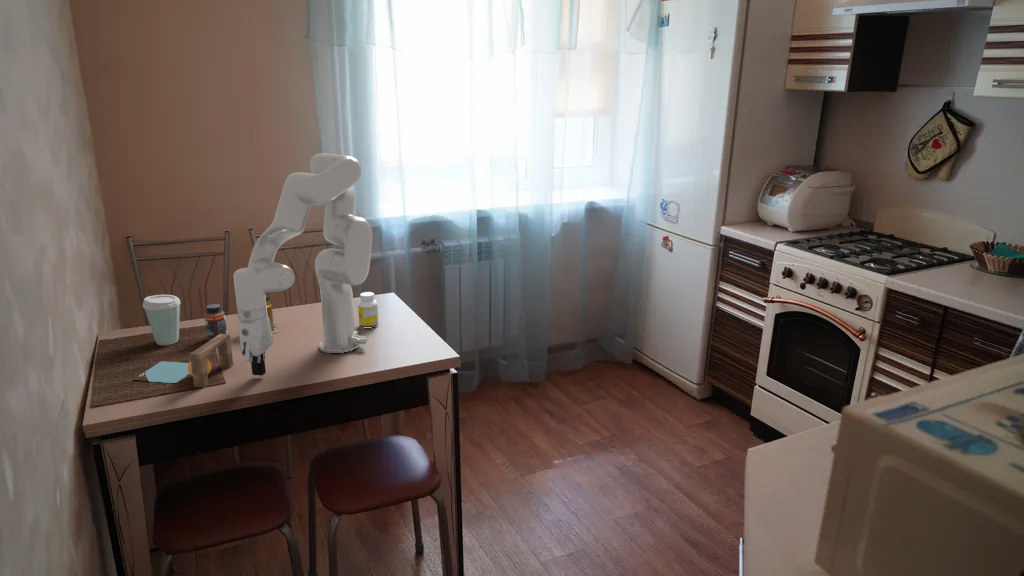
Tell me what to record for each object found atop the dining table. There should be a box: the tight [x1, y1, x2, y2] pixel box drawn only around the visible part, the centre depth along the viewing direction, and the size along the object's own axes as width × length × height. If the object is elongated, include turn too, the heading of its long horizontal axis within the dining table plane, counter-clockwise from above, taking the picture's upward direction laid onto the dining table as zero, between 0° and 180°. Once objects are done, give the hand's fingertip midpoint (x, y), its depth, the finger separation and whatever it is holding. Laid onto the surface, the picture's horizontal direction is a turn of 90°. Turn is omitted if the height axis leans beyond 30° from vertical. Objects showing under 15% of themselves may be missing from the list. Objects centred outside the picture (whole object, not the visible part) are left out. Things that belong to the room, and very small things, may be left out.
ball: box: [188, 356, 212, 377], centre depth 186 cm, size 6×6×6 cm
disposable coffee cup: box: [142, 294, 182, 346], centre depth 208 cm, size 11×11×15 cm
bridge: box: [189, 333, 234, 389], centre depth 186 cm, size 3×15×10 cm, turn 173°
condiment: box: [265, 294, 278, 334], centre depth 220 cm, size 7×8×12 cm
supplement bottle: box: [204, 303, 228, 342], centre depth 212 cm, size 6×6×11 cm
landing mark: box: [138, 360, 191, 384], centre depth 189 cm, size 13×13×1 cm
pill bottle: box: [357, 291, 379, 328], centre depth 225 cm, size 6×6×12 cm
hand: (259, 373), depth 186 cm, fingers closed
